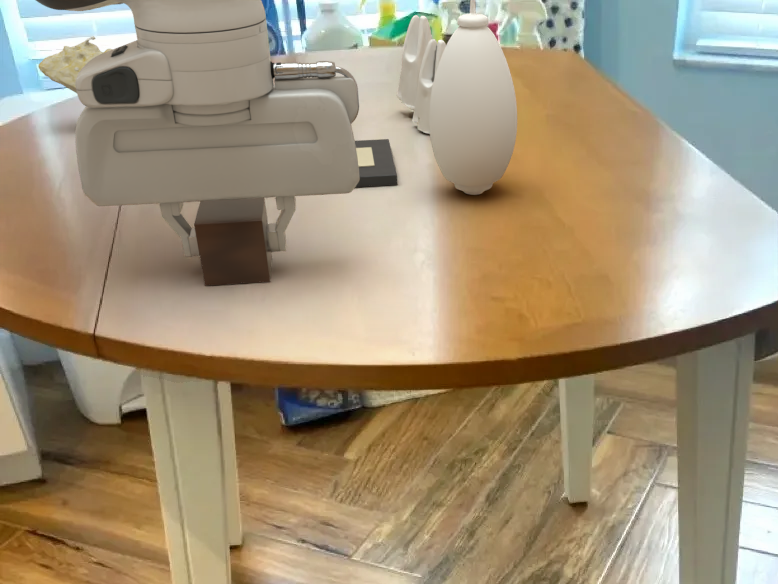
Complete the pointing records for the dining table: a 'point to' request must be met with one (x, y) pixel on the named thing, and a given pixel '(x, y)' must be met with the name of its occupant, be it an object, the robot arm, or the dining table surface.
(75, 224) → the dining table surface
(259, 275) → the walnut block
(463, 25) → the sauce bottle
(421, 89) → the shaker set
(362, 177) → the word board
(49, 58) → the beige rock
